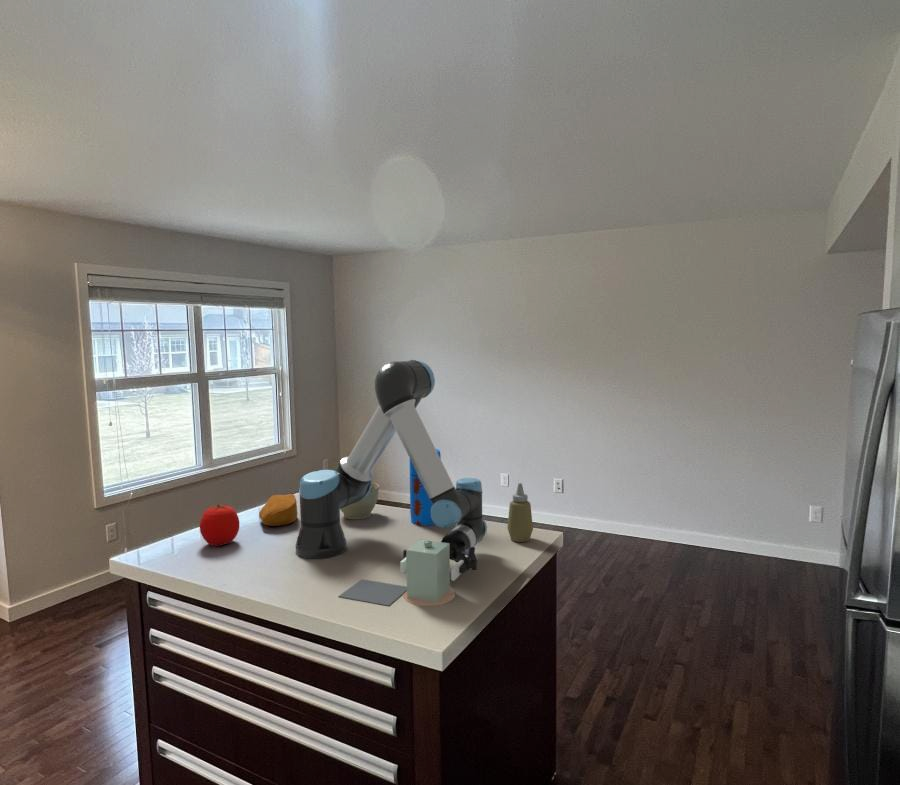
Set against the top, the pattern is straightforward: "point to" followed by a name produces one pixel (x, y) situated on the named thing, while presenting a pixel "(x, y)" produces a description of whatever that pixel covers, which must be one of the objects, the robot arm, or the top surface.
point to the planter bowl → (362, 505)
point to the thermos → (419, 499)
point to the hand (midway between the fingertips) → (426, 571)
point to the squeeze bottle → (520, 517)
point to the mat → (374, 592)
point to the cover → (428, 570)
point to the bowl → (445, 599)
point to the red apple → (219, 525)
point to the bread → (279, 510)
